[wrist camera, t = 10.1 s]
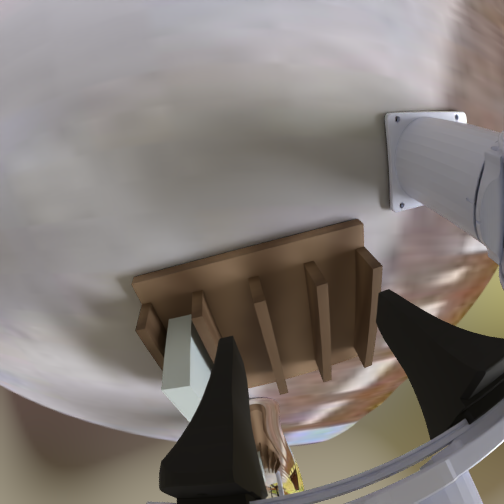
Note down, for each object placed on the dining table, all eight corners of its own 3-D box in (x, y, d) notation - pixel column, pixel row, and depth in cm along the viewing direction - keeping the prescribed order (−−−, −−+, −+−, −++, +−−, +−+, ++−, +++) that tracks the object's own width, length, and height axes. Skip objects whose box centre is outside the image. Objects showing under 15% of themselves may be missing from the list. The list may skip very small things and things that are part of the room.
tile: (191, 314, 22) (189, 385, 16) (220, 371, 26) (226, 433, 20) (168, 319, 22) (161, 390, 16) (201, 375, 26) (203, 436, 20)
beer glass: (234, 394, 30) (252, 514, 17) (289, 394, 31) (320, 503, 18) (224, 421, 33) (237, 521, 20) (273, 420, 34) (295, 514, 21)
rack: (357, 218, 21) (383, 241, 18) (355, 349, 29) (369, 375, 25) (134, 277, 21) (122, 309, 17) (200, 390, 29) (201, 420, 25)
